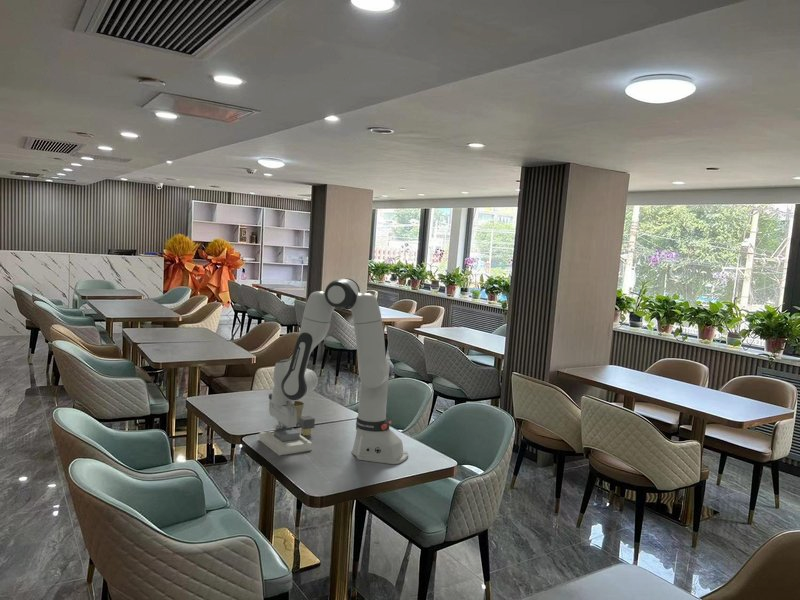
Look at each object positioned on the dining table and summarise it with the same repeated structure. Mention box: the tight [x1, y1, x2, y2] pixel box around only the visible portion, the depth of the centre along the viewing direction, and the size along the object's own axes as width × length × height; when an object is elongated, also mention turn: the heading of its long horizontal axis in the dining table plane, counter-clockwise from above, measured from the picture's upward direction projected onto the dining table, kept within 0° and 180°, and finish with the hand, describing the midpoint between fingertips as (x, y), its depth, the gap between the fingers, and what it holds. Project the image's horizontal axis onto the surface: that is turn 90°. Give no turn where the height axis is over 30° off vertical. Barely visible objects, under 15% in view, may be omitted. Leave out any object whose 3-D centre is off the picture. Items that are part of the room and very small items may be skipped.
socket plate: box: [258, 430, 313, 456], centre depth 235 cm, size 20×14×4 cm
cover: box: [273, 427, 301, 441], centre depth 234 cm, size 7×8×3 cm
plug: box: [298, 415, 316, 437], centre depth 250 cm, size 5×5×7 cm
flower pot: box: [293, 400, 306, 424], centre depth 266 cm, size 9×9×9 cm
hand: (282, 431), depth 238 cm, fingers closed
